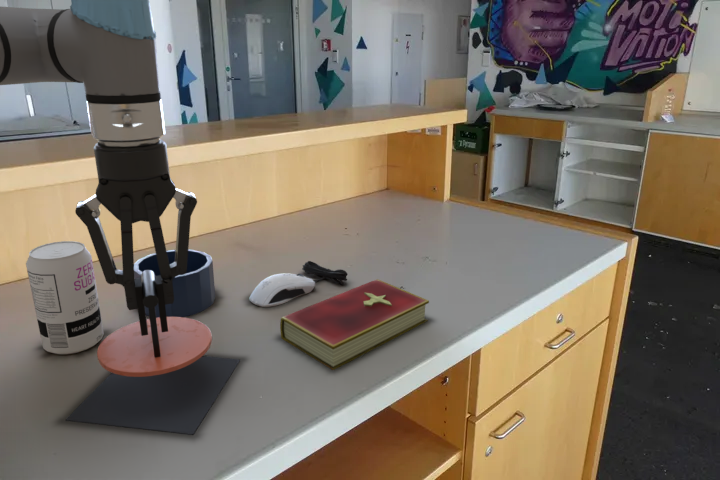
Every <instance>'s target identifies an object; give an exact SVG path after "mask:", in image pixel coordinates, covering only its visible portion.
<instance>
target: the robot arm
mask: <svg viewBox="0 0 720 480" xmlns="http://www.w3.org/2000/svg"><path fill="white" fill-rule="evenodd" d="M156 39H157V32H156V30H155V28H154V20H153V15H152V8H151V3H150V0H70V6H69V8H66V9H63V8H60V9H59V8H31V7H29V8H28V7H15V6H0V86H9V85H23V84H24V85H25V84H36V83H77V84H83V90H84V94H85V99H86V107H87V113H88V114H87V115H88V121H89V127H90V133H91V138H93V139H94V140H95V141H97V142H96V143H95V144H94V146H93V152H94V160H95V166H96V172H97V181H98V184H97V186H96V189H95V194H94V195H92V196H91V197H89V198H88V199H86V200H80V201H78V202H77V203H76V207H75V211H74V212H75V215H76V216H77V217H78V218H79V219H80V220H81V222H82V223H83V224H84V225H85V226H86V228H87V231H88V234H89V237H90V239H91V243H92V246H93V248H94V251H95V254H96V256H97V259H98V263H99V265H100V268H101V270H102V274H103V277H104V280H105V282H106V283H107V284H108V285H114V284H117V285H120V286H122V287H123V289H124V295H125V302H126V307H127V309H128V310H129V311H134V310H137V312H138V321H140V328H141V336H144V335H148V328H147V320H146V319H147V315H146V312H145V306H144V304H143V296H142V282H141V278H136V279H135V278H134V264H135V260H134V258H135V257H134V237H133V236H134V234H133V233H134V231H133V224H135V223H138V222H146V223H148V224H149V225H148V226H149V229H150V233H151V237H152V242H153V247H154V251H155V252H154V253H156V256H157V261H158V265H159V270H160V274H161V275H159V276H155V282H156V290H157V295H158V306H159V314H160V322H161V330H162V332H167V331H168V325H167V317H166V309H165V305H166V304H173V302H174V292H173V284H172V281H173V278H174V277H176V276H178V275H183V274H185V273H186V271H187V260H188V249H189V245H190V233H191V232H190V231H191V220H192V219H191V218H192V215H193V213H194V211H195V208H196V207H197V204H198V199H197V197H196V194H195V193H193V192H192V191H187V192H186V191H184V190H182V189H179V188H176V185H175V183H174V181H173V180H172V178H171V175H170V165H169V156H168V147H167V142H165V140H163V139H162V137H164V136H165V135H166V127H165V119H164V109H163V100H162V95H161V91H160V84H159V83H160V82H159V67H158V66H159V65H158V54H157V53H158V52H157V51H158V50H157V40H156ZM173 199H174V200H175V202H174V204H175V207H176V209H177V210H178V212H177V224H176V238H175V239H176V240H175V250H176V252H175V262H174V263H172V264H170V265H169V261H168V256H167V246H166V242H165V238H164V233H163V228H162V223H161V217H162V216H163V214H164V212H165V210H166V209H167V207H168V206H169V205H170V203H171V202H172V200H173ZM100 205H102V206H103V207H104V208H105V209H106V210H107V211H108V212H109V213H110V214H111V215H112V216H114V217H115V218H116V219H117V220H118V221H120V238H121V239H120V241H121V258H122V259H121V261H122V269H118V268H117V265H116V263H115V260H114V257H113V254H112V251H111V248H110V245H109V242H108V240H107V237H106V233H105V231H104V228H103V225H102V222H101V219H100V216H101V208H100Z"/></svg>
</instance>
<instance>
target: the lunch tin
mask: <svg viewBox="0 0 720 480" xmlns="http://www.w3.org/2000/svg"><path fill="white" fill-rule="evenodd" d="M166 251H167V256H168V261H169V265H170V264H172V263H174V262H175V252H176V249H170V250H169V249H168V250H167V249H166ZM213 263H214V262H213V258H212V256H211V255H210V254H208V253H206V252H204V251H201V250H195V249H189V248H188V260H187V271H186V273H185V274H183V275H178V276H176V277H174V278H173V281H172V284H173V292H174V302H173V304H166V305H165V309H166V317H184V318H187V317H190V316H193V315H197V314H199V313H201V312H203V311H205V310H207V309H209V308H210V307H211V306H212V305H213V304H214V302H215V299H216V288H215V287H216V286H215V274H214V264H213ZM145 270H151V271H153V272H154V274H155V276H159V275H161V274H160V270H159V265H158V261H157V256H156V252H154V253H150V254H148V255H145V256H143V257H141V258H139V259H137V261H135V262H134V278H135V279H136V278H141V274H142V272H143V271H145ZM145 312H146V317H149V310H148V308H147V307H145ZM155 313H156V318H159V317H160V314H159V306H158V304H157V305H156V306H155Z"/></svg>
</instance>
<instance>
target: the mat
mask: <svg viewBox="0 0 720 480" xmlns="http://www.w3.org/2000/svg"><path fill="white" fill-rule="evenodd" d="M240 362H241V359H239V358H229V357H228V358H227V357H218V356H207V355H203V356H202V357H201V358H199V359H198V360H197V361H195V362H193V363H192V364H190V365H188V366H186V367H183V368H181V369H178V370H175V371H172V372H169V373H165V374H160V375H154V376H145V377H131V376H122V375H118V374H114V373H112V372H110V374H109V375H108V376H107V377H105V379H104V380H103V381H102V382H101V383H100V384H99V385H98V386H97V387H96V388H95V389H94V390H93V391H92V392H91V393H90V394H89V395H88V396H87V397H86V398H85V399H84V401H82V402H81V403H80V404H79V405H78V406H77V407H76V408H75V409H74V410H73V412H71V414H69V416H67V417H66V418H65V422H74V423H84V424H92V425H100V426H101V425H102V426H109V427H117V428H126V429H133V430H135V429H136V430H143V431H153V432H159V433H160V432H161V433H169V434H179V435H187V436H194V435H195V434H196V432H197V430H198V429H199V427H200V425H202V423H203V421H204V419H205V418H206V416H207V415H208V413H209V411H210V410H211V408H212V407H213V405H214V403H215V402H216V400H217V398H218V397H219V396H220V393H221V392H222V390H223V389H224V388H225V386H226V384H227V383H228V381H229V380H230V378H231V376H232V374H233V373H234V372H235V370H236V369H237V367H238V365H239V363H240Z"/></svg>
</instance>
